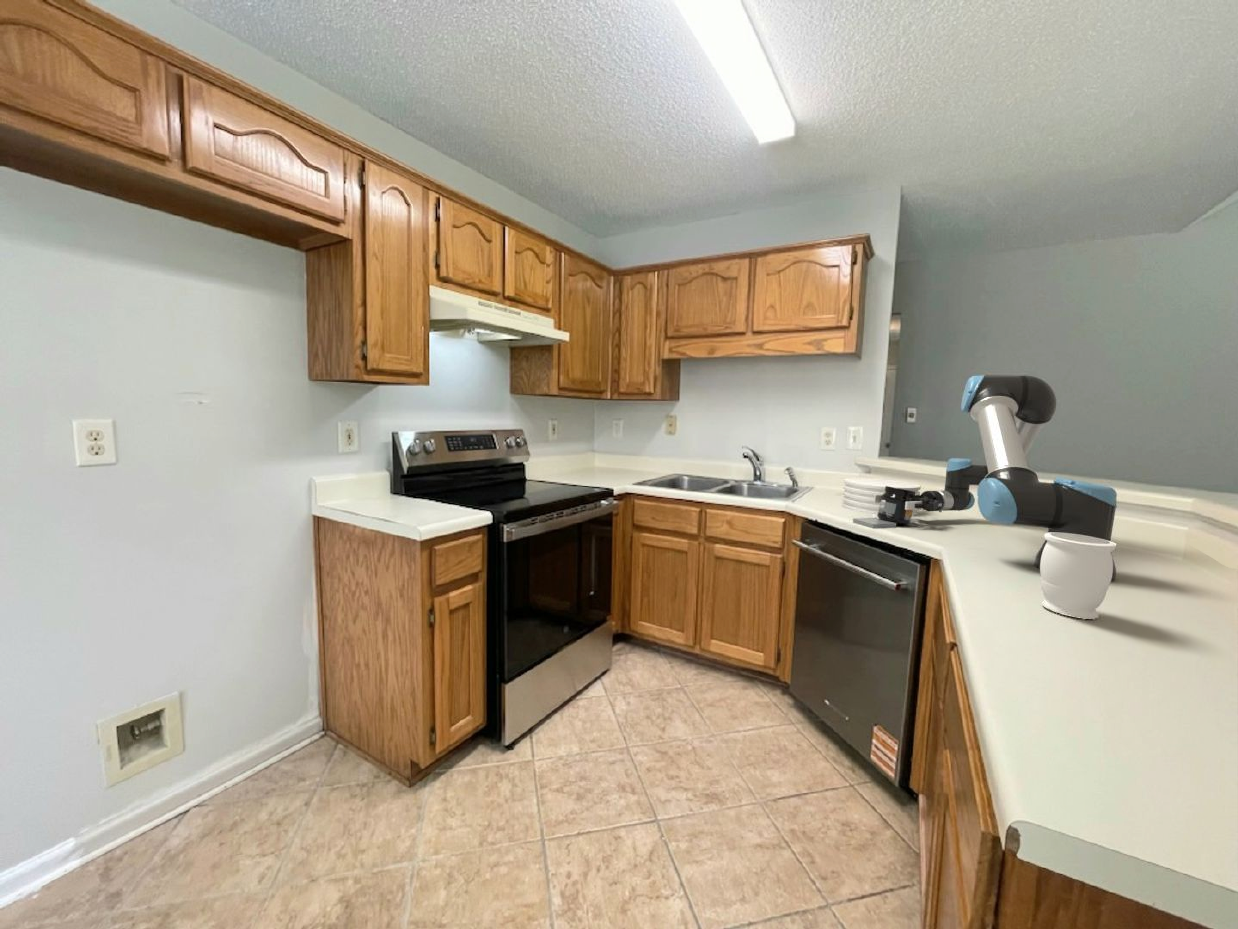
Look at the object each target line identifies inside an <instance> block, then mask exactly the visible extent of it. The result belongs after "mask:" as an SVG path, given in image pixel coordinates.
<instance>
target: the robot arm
mask: <svg viewBox="0 0 1238 929" xmlns="http://www.w3.org/2000/svg"><path fill="white" fill-rule="evenodd" d="M963 390H964V391H963V394H962V398H961V403H960V404H961V405H960V406H961V408H960V409H961V411H962V413H966V414H969V413H970V414H969V415H970V417H971V419H972V420H973V421H974V422H976V423H977V424H978V428H979V432H980V437H981V443H982V447H983V453H984V457H985V462H986V463H985V464H986V465H985V464H973V460H972V459H969V458H962V457H957V458H956V457H951V458H949V459H948V461H947V464H946V470H945V471H946V472H945V484H944V489H942V490H926V491H923V492H922V493H920V495H915V497H913V499H914V501H911V502H906V503H905V510H918V511H919V510H924V511H926V512H938V513H942V512H947V511H952V512H953V511H954V512H955V511H958V512H959V511H960V512H961V511H967V510H970V509H971V508H973V506H974V505H975V503H976V498H975V495H974V494H973V493H972V492H971V491H970V486H978V487H977V492H976V495H977V505H978V506H977V507H978V509H979V510H978V511H979V512H980V514H981V516H982V517H983V518H984V519H985V520H986V521H989V522H991V523H995V524H1001V525H1005V526H1010V525H1013V526H1014V525H1015V526H1023V527H1033V528H1044V529H1047V530H1048V531H1047V533H1049V532H1058V533H1071V534H1079V535H1085V536H1091V537H1096V538H1100V539H1104V540H1107V541H1111V542H1112V534H1113V527H1114V521H1115V515H1116V510H1117V509H1116V508H1118V506H1117V497H1118V496H1117V494H1118V493H1117V491H1116V490H1115V489H1114V487H1113V488H1112V487H1111V486H1107V485H1102V484H1099V483H1093V482H1086V481H1081V480H1076V479H1070V478H1065V477H1056V478H1055V479H1054V480H1053V482H1046V481H1045V482H1044V481H1039V477H1038V475H1037V473H1036V472H1035V471H1034V470H1032V469H1031V468H1028V465H1027V460H1026V456H1027V454H1028V452H1029V451H1030V449H1031V447H1032V446H1033V444H1034V442H1035V440H1036V438H1037V436H1038V434H1039V433H1040V431H1041V429H1042V428H1043V426H1044V425H1045V424H1047V423H1049V422H1050V421H1051V420H1052V418H1053V416H1054V414H1055V412H1056V409H1057V396H1056V393H1055V391H1054V389H1053V388H1052V387H1051V386H1050V385H1049V383H1047V382H1046V381H1045V380H1043V379H1042V378H1039V377H1037V376H1033V375H1026V374H1025V375H1007V374H1005V375H1001V374H999V375H997V374H996V375H995V374H983V375H973V376H971V377H969V378H968V380H967V382H966V384H965V387H964V389H963ZM881 496H882V495H874V502H881V498H882V497H881ZM1046 543H1047V540H1045V539H1044V542H1043V543H1042V545H1041V547H1040V549H1039V550H1038V552H1037V554H1036V556H1035V559H1034V560H1035V561H1034V565H1035V566H1036V567H1037V568H1039V569H1040V562H1041V556H1042V552H1043V549H1044V547H1045V545H1046ZM1111 555H1112V559H1113V573H1112V579H1111V582H1112V581H1115V580H1116V577H1117V567H1116V565H1115V564H1116V563H1115V561H1114V560H1115V559H1114V558H1113V553H1112V552H1111Z"/></svg>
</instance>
